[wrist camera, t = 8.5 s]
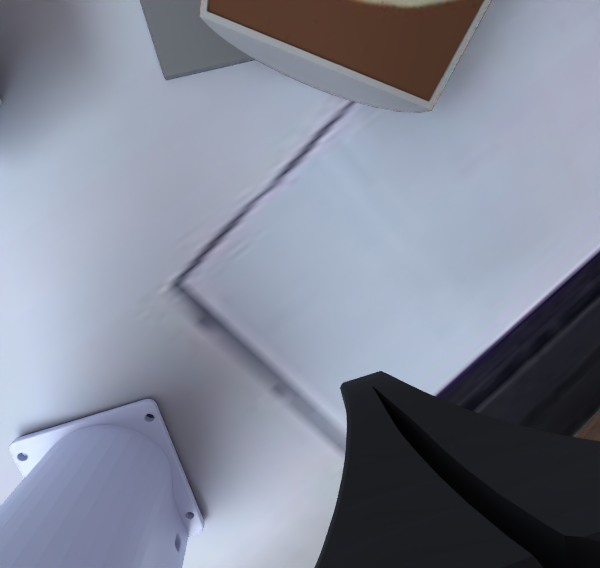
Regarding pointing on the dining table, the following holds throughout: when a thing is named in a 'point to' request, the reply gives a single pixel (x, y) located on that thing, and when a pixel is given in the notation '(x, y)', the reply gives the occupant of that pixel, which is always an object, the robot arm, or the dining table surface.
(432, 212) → the dining table surface
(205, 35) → the mat
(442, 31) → the food container
